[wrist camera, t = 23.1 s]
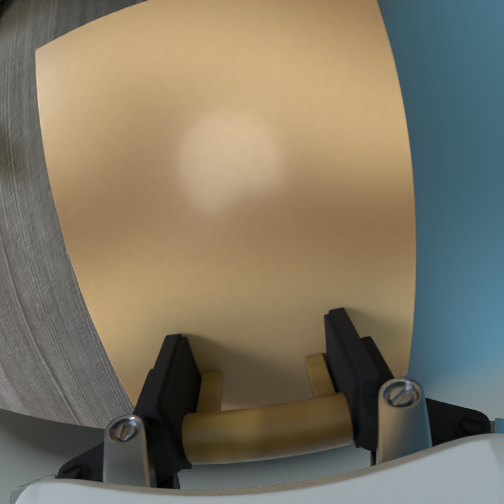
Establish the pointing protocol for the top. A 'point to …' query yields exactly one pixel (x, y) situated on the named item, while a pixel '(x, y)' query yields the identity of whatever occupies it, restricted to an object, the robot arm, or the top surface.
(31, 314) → the top surface
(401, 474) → the robot arm
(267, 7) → the lid
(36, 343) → the top surface
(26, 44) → the top surface
